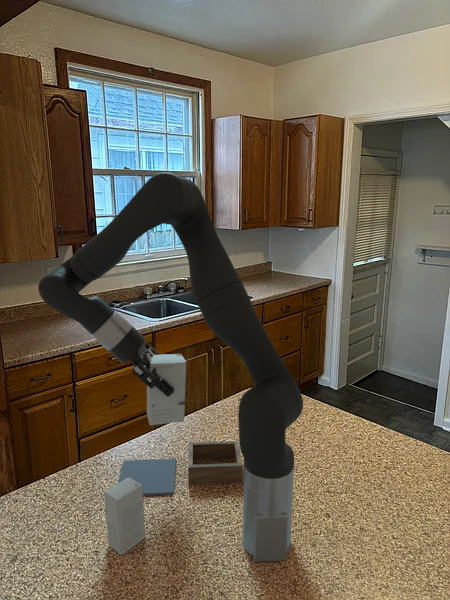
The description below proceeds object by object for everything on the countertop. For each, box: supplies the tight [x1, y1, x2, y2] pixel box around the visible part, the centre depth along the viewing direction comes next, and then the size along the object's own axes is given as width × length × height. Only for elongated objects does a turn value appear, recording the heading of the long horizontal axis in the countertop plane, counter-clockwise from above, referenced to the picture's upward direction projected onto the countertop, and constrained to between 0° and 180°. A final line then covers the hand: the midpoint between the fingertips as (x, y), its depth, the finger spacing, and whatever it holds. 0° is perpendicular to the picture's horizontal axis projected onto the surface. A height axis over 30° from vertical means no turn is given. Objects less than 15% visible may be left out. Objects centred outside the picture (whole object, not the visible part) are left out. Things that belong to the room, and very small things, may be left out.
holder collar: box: [187, 440, 244, 486], centre depth 109 cm, size 10×12×4 cm
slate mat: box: [117, 458, 177, 497], centre depth 106 cm, size 13×13×1 cm
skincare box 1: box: [103, 477, 146, 556], centre depth 86 cm, size 6×4×12 cm
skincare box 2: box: [146, 353, 187, 426], centre depth 103 cm, size 8×6×15 cm
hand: (172, 386), depth 103 cm, fingers closed on skincare box 2, 6 cm apart
